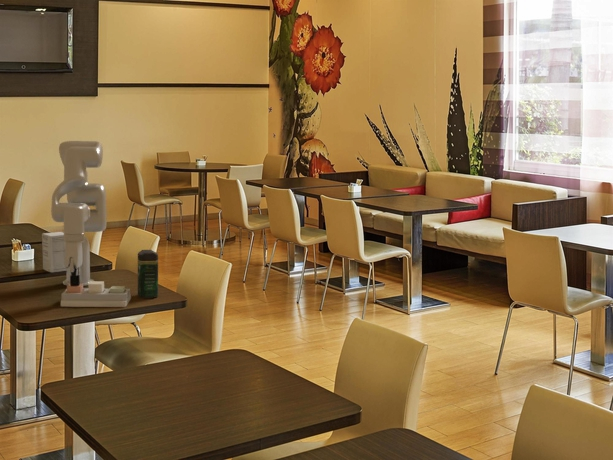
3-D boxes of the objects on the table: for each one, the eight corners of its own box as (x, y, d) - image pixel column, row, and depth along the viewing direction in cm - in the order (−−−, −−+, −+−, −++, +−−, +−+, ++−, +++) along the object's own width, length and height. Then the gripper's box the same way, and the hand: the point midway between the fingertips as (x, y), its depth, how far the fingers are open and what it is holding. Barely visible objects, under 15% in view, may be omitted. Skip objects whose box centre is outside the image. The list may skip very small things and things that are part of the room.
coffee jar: (159, 298, 326) (159, 252, 323) (139, 299, 323) (139, 252, 321) (156, 293, 335) (155, 248, 332) (136, 294, 332) (136, 248, 330)
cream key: (91, 290, 318) (90, 281, 317) (104, 290, 318) (104, 281, 318) (88, 293, 313) (88, 284, 313) (101, 293, 313) (101, 284, 313)
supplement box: (62, 267, 383) (61, 231, 381) (70, 270, 376) (70, 234, 374) (42, 269, 377) (41, 233, 375) (50, 272, 370) (49, 235, 368)
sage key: (112, 294, 319) (112, 285, 318) (125, 294, 319) (125, 286, 319) (109, 297, 314) (109, 288, 313) (123, 297, 314) (123, 288, 314)
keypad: (68, 298, 322) (68, 287, 321) (130, 299, 323) (130, 287, 323) (60, 306, 309) (60, 294, 308) (125, 306, 311) (125, 295, 310)
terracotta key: (70, 292, 318) (69, 283, 317) (83, 292, 318) (83, 283, 317) (67, 295, 313) (66, 286, 312) (80, 295, 313) (80, 286, 312)
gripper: (68, 235, 319) (69, 281, 321) (59, 240, 304) (60, 289, 307) (88, 235, 320) (88, 281, 322) (80, 240, 305) (80, 289, 307)
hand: (75, 285), depth 314 cm, fingers closed
